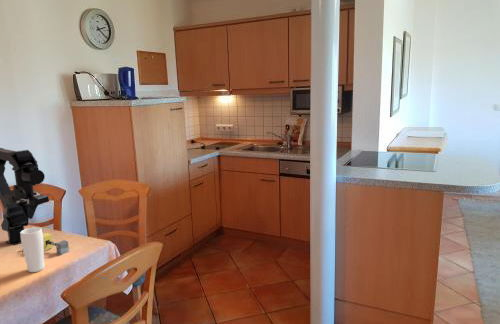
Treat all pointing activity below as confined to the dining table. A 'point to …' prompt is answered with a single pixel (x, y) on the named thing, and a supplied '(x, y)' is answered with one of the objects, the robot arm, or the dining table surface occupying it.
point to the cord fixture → (60, 246)
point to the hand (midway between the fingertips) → (29, 218)
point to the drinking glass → (33, 248)
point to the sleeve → (47, 238)
